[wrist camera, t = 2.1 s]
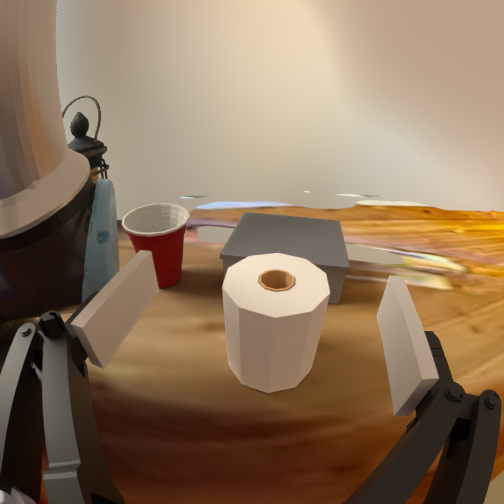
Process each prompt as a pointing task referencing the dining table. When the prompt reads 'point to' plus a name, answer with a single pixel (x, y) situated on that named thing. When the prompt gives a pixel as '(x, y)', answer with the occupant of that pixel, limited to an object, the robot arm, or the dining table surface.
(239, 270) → the toilet paper
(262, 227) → the grey box
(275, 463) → the dining table surface
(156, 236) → the plastic cup
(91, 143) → the lantern
